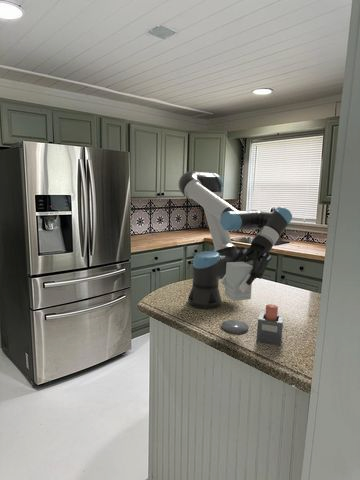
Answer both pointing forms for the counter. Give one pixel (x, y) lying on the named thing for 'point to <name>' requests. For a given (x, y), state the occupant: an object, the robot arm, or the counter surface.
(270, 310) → the button
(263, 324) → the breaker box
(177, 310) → the counter surface
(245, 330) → the coaster
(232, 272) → the supplement box
